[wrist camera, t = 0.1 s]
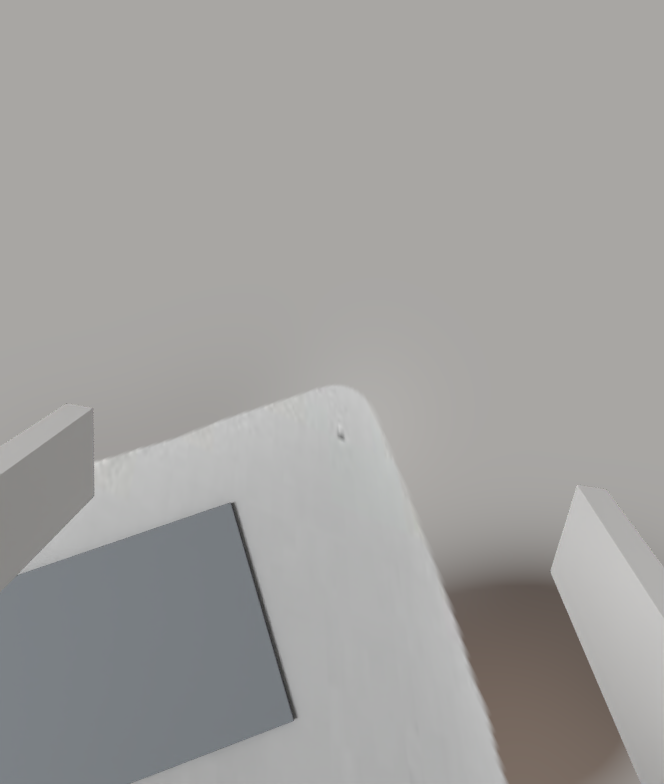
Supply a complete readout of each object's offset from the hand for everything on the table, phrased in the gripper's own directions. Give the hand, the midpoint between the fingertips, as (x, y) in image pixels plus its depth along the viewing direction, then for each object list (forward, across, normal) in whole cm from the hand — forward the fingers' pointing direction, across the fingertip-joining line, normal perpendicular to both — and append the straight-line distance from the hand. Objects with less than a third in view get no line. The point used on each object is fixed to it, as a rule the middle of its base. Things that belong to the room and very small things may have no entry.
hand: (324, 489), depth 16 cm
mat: (+22, +16, +31) cm, 41 cm away
